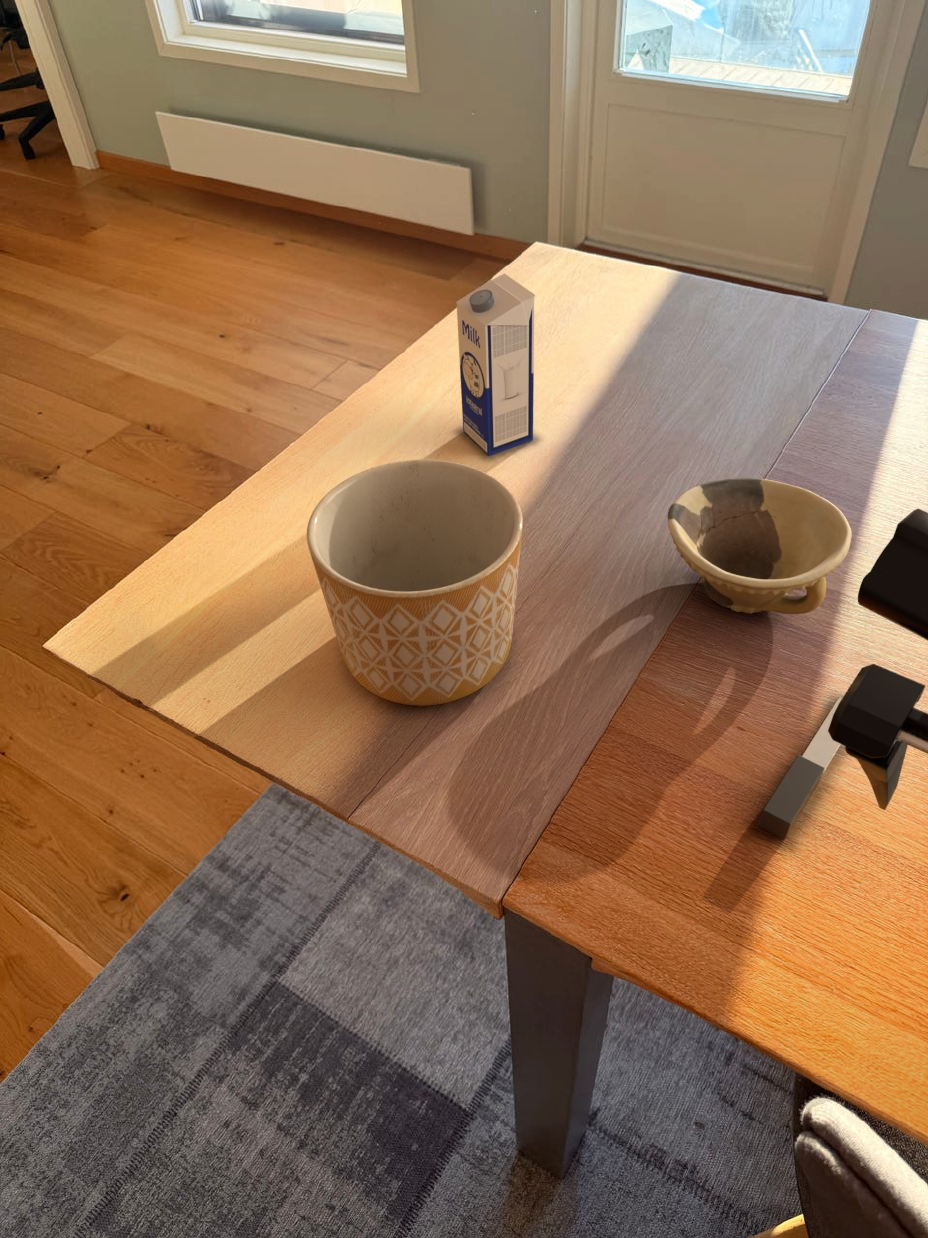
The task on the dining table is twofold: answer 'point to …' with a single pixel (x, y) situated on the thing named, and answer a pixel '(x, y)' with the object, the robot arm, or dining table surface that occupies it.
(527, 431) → the milk carton
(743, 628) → the dining table surface
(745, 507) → the bowl
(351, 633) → the planter
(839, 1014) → the dining table surface
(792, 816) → the two-tone stick
